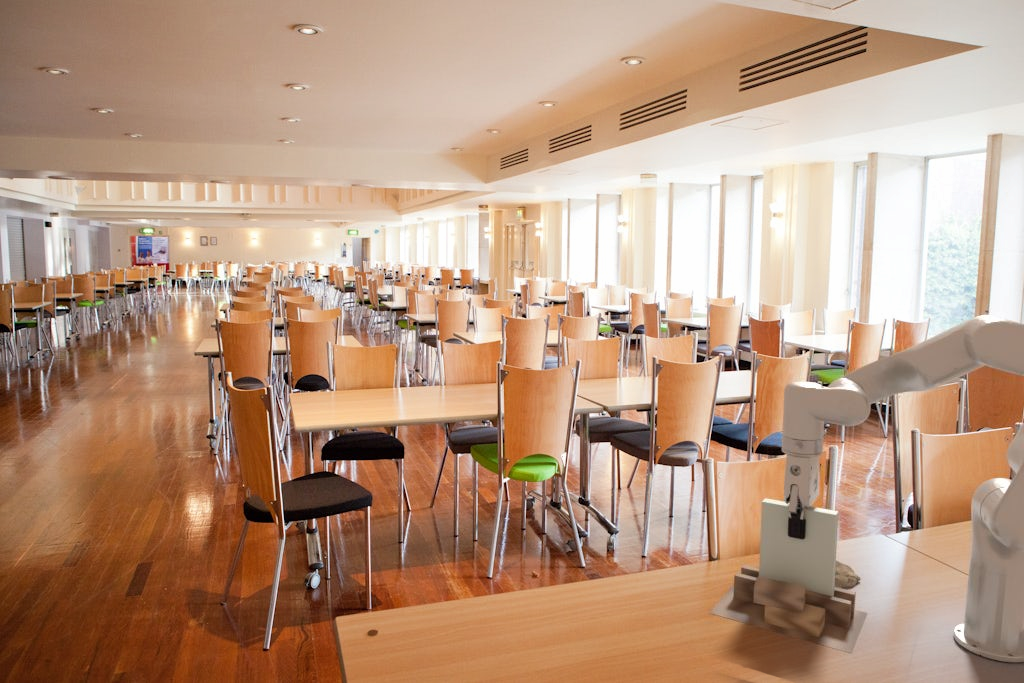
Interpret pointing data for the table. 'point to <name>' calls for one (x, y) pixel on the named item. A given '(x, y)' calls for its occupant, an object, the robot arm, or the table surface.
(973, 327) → the robot arm
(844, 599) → the rack
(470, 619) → the table surface
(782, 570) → the panel
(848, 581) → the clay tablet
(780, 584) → the offcut upper
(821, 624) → the offcut lower
